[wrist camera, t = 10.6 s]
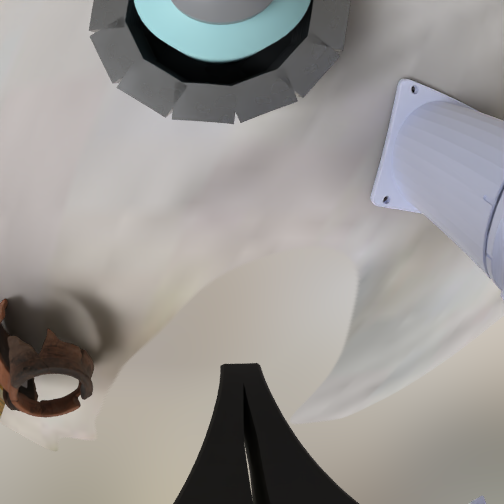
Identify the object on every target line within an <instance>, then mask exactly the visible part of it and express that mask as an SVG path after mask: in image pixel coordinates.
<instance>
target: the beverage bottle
mask: <svg viewBox="0 0 504 504" xmlns="http://www.w3.org/2000/svg"><path fill="white" fill-rule="evenodd" d="M4 406H5V402H4V399H3V387H2V386H1V384H0V417H1V414H2V411H3V408H4Z"/></svg>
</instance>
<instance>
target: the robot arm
mask: <svg viewBox="0 0 504 504" xmlns="http://www.w3.org/2000/svg"><path fill="white" fill-rule="evenodd" d="M412 86H414V88H415V91H414V93H412V91H411V88H412ZM386 196H388V197H387V200H386V201H383V199H384V197H386ZM370 199H371V202H372V203H373V204H374V205H376V206H379V207H386V208H392V209H398V210H404V211H410V212H416V213H422V214H424V215H425V216H426V217H427V218H428V219H429V220H430V221H432V222H433V223H434V224H435V225H436V226H437V227H438V228H439V229H440V230H442V231H443V232H444V233H445V234H446V235H447V236H448V237H449V238H450V239H451V240H452V241H453V242H454V243H455V244H457V245H458V246H459V247H460V248H461V249H462V250H463V251H464V252H465V253H466V254H467V255H468V256H469V257H470V258H471V259H472V260H473V261H474V262H475V263H476V264H477V265H478V266H479V267H480V268H481V269H482V270H483V271H484V273H485V274H486V275H487V276H488V277H489V278H490V279H492V281H493V282H494V283H495V284H496V285H497V286H498V288H499V289H500V290H501V297H502V299H503V300H504V120H501V119H498V118H495V117H493V116H490V115H487V114H484V113H481V112H479V111H477V110H475V109H474V108H472V107H470V106H468V105H466V104H464V103H462V102H460V101H458V100H456V99H454V98H452V97H449V96H447V95H445V94H443V93H441V92H439V91H436V90H434V89H432V88H430V87H427V86H425V85H422V84H420V83H418V82H415V81H413V80H410V79H405V78H403V79H401V80H400V81H399V83H398V86H397V91H396V96H395V101H394V106H393V110H392V115H391V119H390V124H389V128H388V132H387V136H386V140H385V145H384V149H383V153H382V156H381V160H380V164H379V168H378V172H377V175H376V179H375V182H374V186H373V190H372V193H371V198H370ZM244 443H245V446H244ZM245 448H246V454H247V459H248V464H249V470H250V477H251V487H252V495H251V489H250V482H249V475H248V468H247V461H246V454H245ZM252 498H253V500H252ZM173 504H359V503H358V502H356V501H355V500H354V499H353V498H352V497H350V496H349V495H348V494H347V493H346V492H344V491H343V490H342V489H341V488H340V487H339V486H338V485H337V484H336V483H335V482H334V481H333V480H332V479H331V478H330V477H329V476H328V475H327V474H326V473H325V472H324V471H323V470H322V469H321V468H320V467H319V465H318V464H317V463H316V462H315V461H314V460H313V458H312V457H311V456H310V455H309V453H308V452H307V451H306V449H305V448H304V447H303V446H302V444H301V443H300V441H299V440H298V439H297V437H296V436H295V434H294V433H293V431H292V430H291V428H290V426H289V425H288V423H287V422H286V420H285V418H284V417H283V415H282V413H281V411H280V409H279V408H278V406H277V404H276V402H275V400H274V398H273V396H272V394H271V392H270V390H269V388H268V386H267V383H266V381H265V378H264V376H263V373H262V370H261V367H260V365H259V364H257V363H252V364H251V363H250V364H223V365H221V374H220V384H219V390H218V396H217V400H216V404H215V407H214V411H213V415H212V419H211V422H210V425H209V428H208V431H207V434H206V437H205V439H204V442H203V445H202V447H201V450H200V452H199V454H198V457H197V459H196V461H195V464H194V466H193V468H192V470H191V472H190V474H189V476H188V478H187V480H186V482H185V484H184V486H183V488H182V490H181V491H180V493H179V495H178V497H177V498H176V500H175V502H174V503H173ZM468 504H486V502H485V499H484V496H480V497H478V498H477V499H475V500H473V501H471V502H470V503H468Z"/></svg>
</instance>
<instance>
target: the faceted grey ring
mask: <svg viewBox="0 0 504 504" xmlns="http://www.w3.org/2000/svg"><path fill="white" fill-rule="evenodd" d="M350 2H351V1H350V0H311V1H310V4H309V6H308V9H307V11H306V13H305V14H304V16H303V17H302V19H301V20H300V22H299V23H298V24H297V25H296V26H295V27H294V28H293V29H292V30H291V31H290V32H289V33H288V34H287V35H285V36H284V37H282V38H281V39H280V40H278V41H276V42H275V43H273V44H271V45H269V46H267V47H266V48H264V49H262V50H261V51H259V52H257V53H255V54H254V55H252V56H250V57H249V58H246V59H244V60H242V61H238V62H235V63H230V64H208V63H203V62H200V61H197V60H194V59H192V58H190V57H188V56H186V55H185V54H183V53H182V52H180V51H178V50H177V49H175V48H173V47H172V46H170V45H168V44H167V43H165V42H164V41H162V40H161V39H159V38H158V37H157V36H155V35H154V34H153V33H152V32H151V31H150V30H149V29H148V28H147V26H146V25H145V24H144V23H143V21H142V20H141V18H140V16H139V14H138V12H137V9H136V7H135V3H134V0H94V2H93V8H92V14H91V21H90V27H89V31H92V32H96V33H94V34H93V35H91V36H90V38H91V40H92V42H93V44H94V46H95V48H96V50H97V53H98V55H99V57H100V59H101V61H102V63H103V65H104V67H105V69H106V71H107V73H108V75H109V77H110V79H111V81H112V83H119V82H120V83H119V85H118V86H117V88H118V89H120V90H121V91H123V92H125V93H126V94H128V95H130V96H131V97H133V98H135V99H136V100H138V101H140V102H141V103H143V104H145V105H146V106H148V107H149V108H151V109H153V110H154V111H156V112H158V113H159V114H161V115H162V116H164V117H167V116H168V115H169V114H170V113H172V112H173V114H172V120H191V121H206V122H218V123H229V124H234V118H235V112H236V114H237V116H238V118H239V120H240V123H242V122H244V121H247V120H249V119H252V118H254V117H257V116H259V115H262V114H265V113H267V112H270V111H272V110H275V109H278V108H281V107H283V106H286V105H289V104H292V103H294V102H297V101H298V100H297V98H296V96H300V97H304V96H305V95H306V94H307V93H308V92H309V91H310V89H311V88H312V87H313V86H314V85H315V84H316V83H317V81H318V80H319V79H320V78H321V77H322V76H323V75H324V74H325V73H326V71H327V70H328V69H329V68H330V67H331V66H332V65H333V64H334V63H335V61H336V60H337V59H338V58H339V57H340V55H338V54H337V53H336V52H338V51H343V47H344V41H345V35H346V29H347V23H348V16H349V9H350Z"/></svg>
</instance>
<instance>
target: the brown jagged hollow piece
mask: <svg viewBox="0 0 504 504" xmlns="http://www.w3.org/2000/svg"><path fill="white" fill-rule="evenodd" d="M7 304H8V301H7V300H6V299H4V300H3V301H2V302H1V303H0V384H1V386H2V387H3V399H4V402H5V404H6V405H7V406H8V407H9V408H10V409H11V410H17V411H22V412H24V413H26V414H29V415H32V416H37V417H53V416H59V415H63V414H67V413H69V412H72V411H74V410H76V409H78V408H79V407H80V402H79V400H78V397H79V395H81V397H82V399H84V400H85V399H86V398H88V397H90V396H91V395H92V392H93V385H92V381H91V377H92V373H93V370H94V364H93V361H92V359H91V357H90V356H89V354H88V353H87V351H86V350H84V349H80V348H79V347H78V346H76V345H74V344H69V343H67V342H63V341H61V340H60V339H59V338H57V336H56V335H55V334H54V333H53V332H52V331H51V330H50V329H47V336H46V339H45V341H44V344H43V346H42V349H41V351H40V353H39V354H38V353H37V352H36V351H35V349H34V348H33V347H32V346H31V345H30V344H28V343H26V342H24V341H22V340H21V339H20V338H19V337H17V336H10V335H9V334H8V333H7V332H6V331H5V330H4V328H3V326H2V324H1V322H2V320H3V319H4V318H5V309H6V307H7ZM43 374H64V375H69V376H72V377H74V378H76V379H78V380H79V386H78V388H77V389H76V390H75V391H74V392H72V393H70V394H68V395H67V396H65V397H62V398H58V399H53V400H42V401H40V402H38V401H37V398H38V394H37V392H36V386H35V383H34V377H36V376H39V375H43Z"/></svg>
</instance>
